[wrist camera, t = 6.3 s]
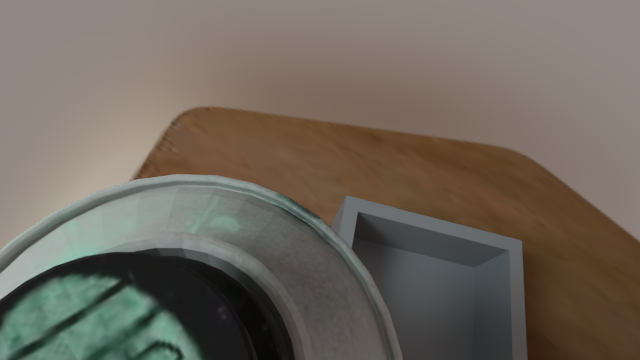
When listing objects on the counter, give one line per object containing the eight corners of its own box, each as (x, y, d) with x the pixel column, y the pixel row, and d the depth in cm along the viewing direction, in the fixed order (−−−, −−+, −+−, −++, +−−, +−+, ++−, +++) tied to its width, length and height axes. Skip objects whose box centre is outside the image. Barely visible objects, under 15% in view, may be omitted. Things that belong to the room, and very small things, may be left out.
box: (477, 263, 27) (522, 240, 23) (475, 442, 22) (532, 457, 18) (330, 225, 27) (346, 195, 23) (294, 400, 22) (306, 405, 18)
